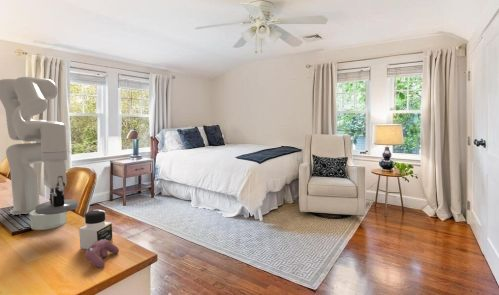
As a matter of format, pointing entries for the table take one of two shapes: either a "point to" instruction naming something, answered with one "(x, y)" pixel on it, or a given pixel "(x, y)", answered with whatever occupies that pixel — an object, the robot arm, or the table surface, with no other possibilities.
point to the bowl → (46, 220)
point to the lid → (50, 209)
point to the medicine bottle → (95, 229)
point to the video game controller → (100, 252)
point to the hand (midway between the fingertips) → (57, 204)
